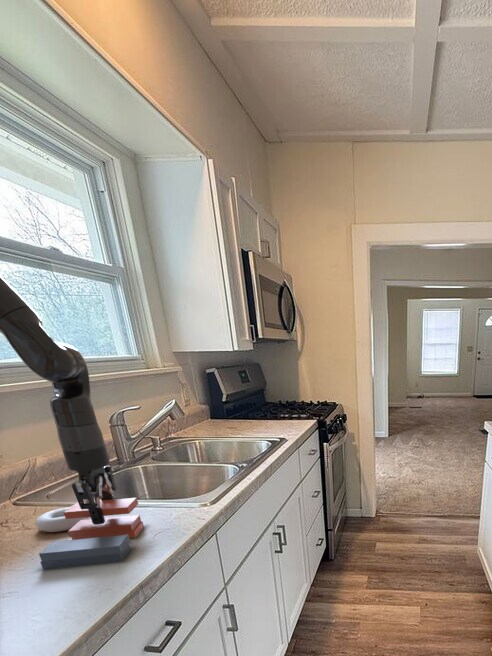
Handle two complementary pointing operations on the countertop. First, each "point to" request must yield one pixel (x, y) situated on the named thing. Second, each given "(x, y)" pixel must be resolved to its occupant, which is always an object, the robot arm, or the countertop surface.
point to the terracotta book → (104, 508)
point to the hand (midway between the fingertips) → (105, 517)
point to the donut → (56, 521)
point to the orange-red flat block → (107, 527)
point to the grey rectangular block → (85, 552)
